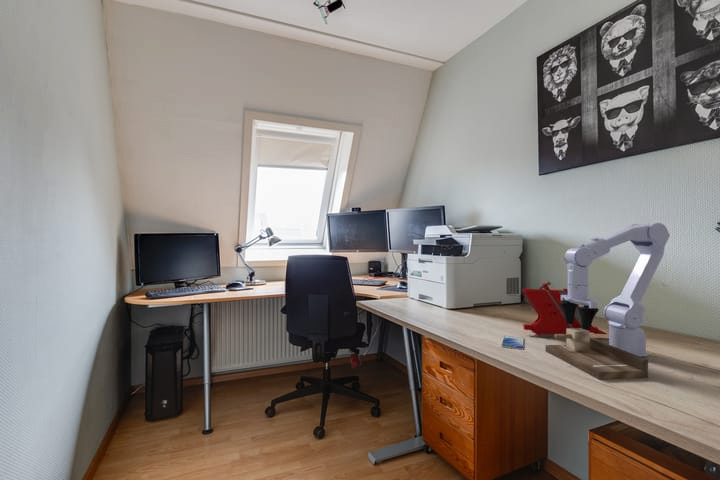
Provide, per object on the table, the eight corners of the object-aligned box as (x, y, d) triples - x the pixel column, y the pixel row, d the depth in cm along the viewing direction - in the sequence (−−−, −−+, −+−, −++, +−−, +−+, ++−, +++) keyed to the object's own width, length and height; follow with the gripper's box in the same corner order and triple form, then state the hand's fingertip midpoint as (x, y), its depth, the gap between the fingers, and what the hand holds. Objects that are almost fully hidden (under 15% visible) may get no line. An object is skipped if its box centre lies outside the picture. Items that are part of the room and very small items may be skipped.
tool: (600, 331, 138) (567, 268, 140) (609, 334, 132) (574, 268, 134) (536, 358, 139) (505, 295, 142) (543, 362, 134) (510, 297, 136)
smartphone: (524, 337, 133) (523, 348, 119) (524, 340, 133) (523, 351, 119) (504, 335, 136) (500, 345, 122) (504, 337, 136) (500, 348, 122)
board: (585, 350, 119) (585, 335, 119) (648, 378, 95) (648, 359, 95) (545, 351, 118) (545, 336, 118) (599, 379, 94) (599, 360, 94)
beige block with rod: (580, 346, 117) (580, 328, 117) (589, 350, 113) (589, 331, 113) (552, 346, 116) (552, 328, 116) (559, 350, 112) (559, 331, 112)
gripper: (552, 282, 122) (552, 321, 122) (581, 287, 107) (581, 332, 107) (571, 282, 122) (571, 321, 122) (603, 287, 108) (603, 331, 108)
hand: (577, 326), depth 115 cm, fingers open, 7 cm apart
